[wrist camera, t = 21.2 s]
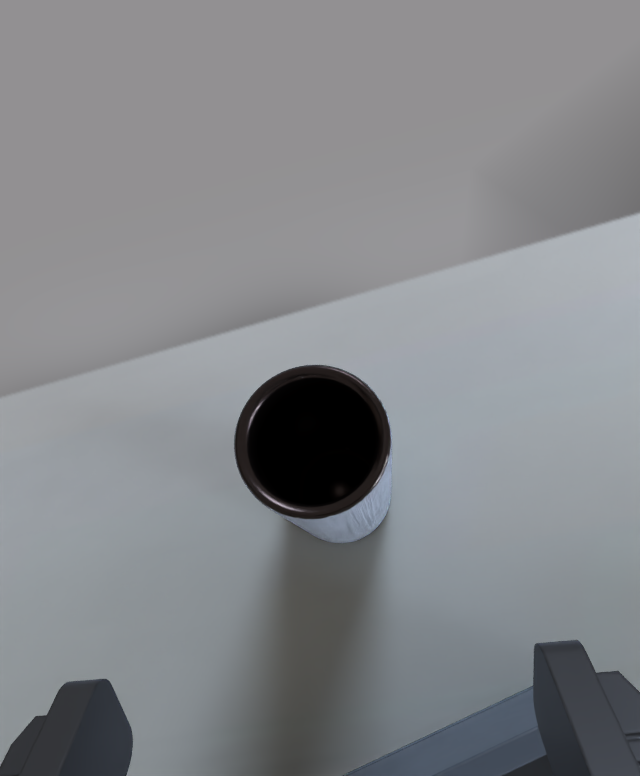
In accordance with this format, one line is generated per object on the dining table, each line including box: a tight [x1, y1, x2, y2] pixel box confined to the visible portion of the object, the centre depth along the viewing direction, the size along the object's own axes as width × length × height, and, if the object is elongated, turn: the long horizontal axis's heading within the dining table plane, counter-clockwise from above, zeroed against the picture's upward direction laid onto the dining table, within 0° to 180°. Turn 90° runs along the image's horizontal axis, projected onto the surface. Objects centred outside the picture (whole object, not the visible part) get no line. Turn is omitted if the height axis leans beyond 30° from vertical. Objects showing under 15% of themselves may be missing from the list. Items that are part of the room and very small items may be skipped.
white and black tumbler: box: [234, 365, 392, 543], centre depth 21 cm, size 4×4×10 cm
